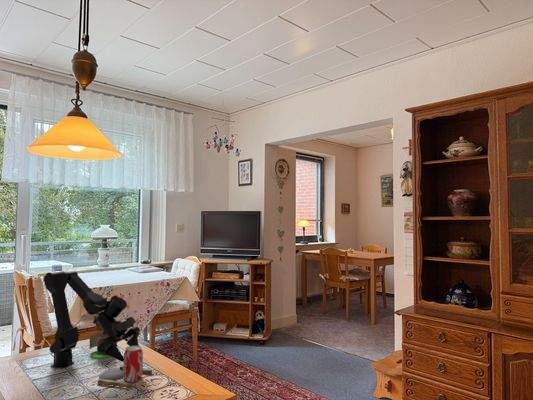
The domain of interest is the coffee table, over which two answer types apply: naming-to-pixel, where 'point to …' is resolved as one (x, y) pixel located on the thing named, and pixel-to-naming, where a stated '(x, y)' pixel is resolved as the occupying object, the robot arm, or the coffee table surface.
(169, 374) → the coffee table surface
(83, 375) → the coffee table surface
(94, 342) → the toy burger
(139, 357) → the soda can
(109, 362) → the coffee table surface
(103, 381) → the rail
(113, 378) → the coaster
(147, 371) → the rail
